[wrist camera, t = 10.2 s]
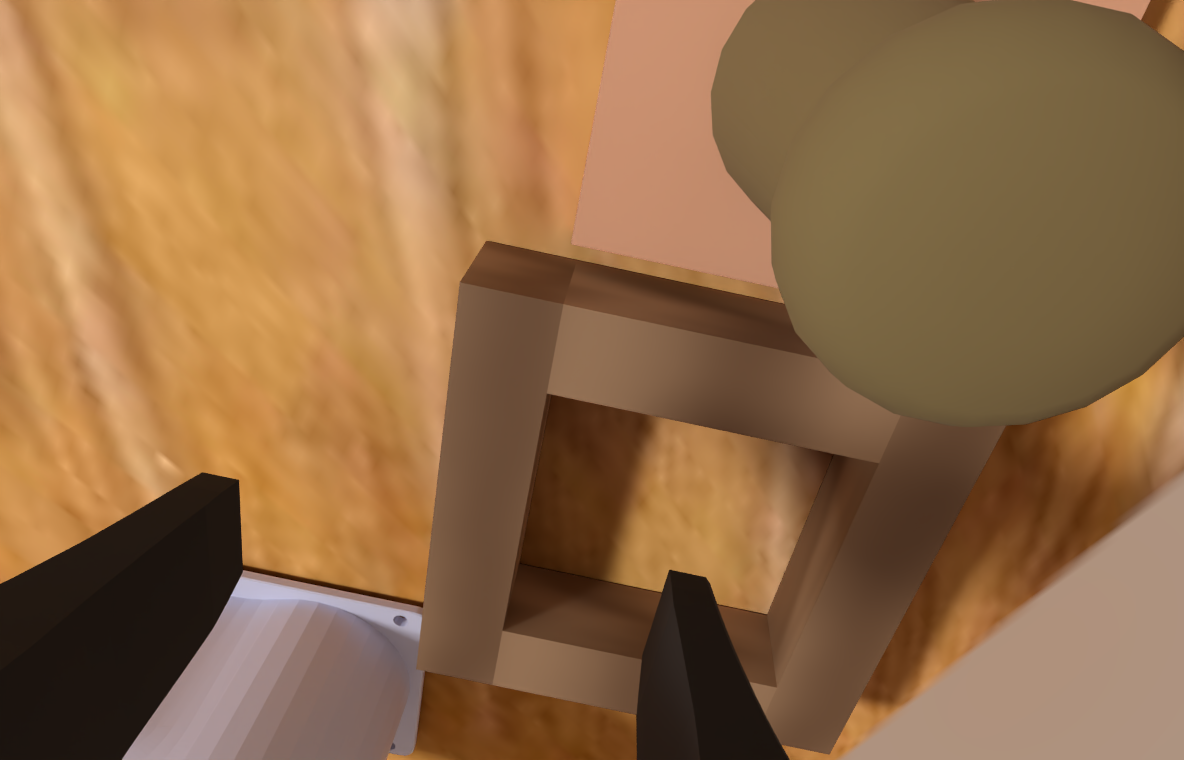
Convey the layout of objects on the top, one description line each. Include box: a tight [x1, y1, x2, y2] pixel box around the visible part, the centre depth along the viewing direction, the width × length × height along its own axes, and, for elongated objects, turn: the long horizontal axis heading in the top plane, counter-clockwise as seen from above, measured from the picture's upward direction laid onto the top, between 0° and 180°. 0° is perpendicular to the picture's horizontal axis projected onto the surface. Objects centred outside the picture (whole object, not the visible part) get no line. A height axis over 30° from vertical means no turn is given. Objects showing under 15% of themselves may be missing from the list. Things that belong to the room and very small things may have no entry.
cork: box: [711, 0, 1184, 427], centre depth 13 cm, size 6×6×11 cm
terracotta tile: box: [571, 0, 1150, 288], centre depth 18 cm, size 11×11×1 cm
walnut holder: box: [416, 241, 1006, 754], centre depth 23 cm, size 14×14×3 cm
